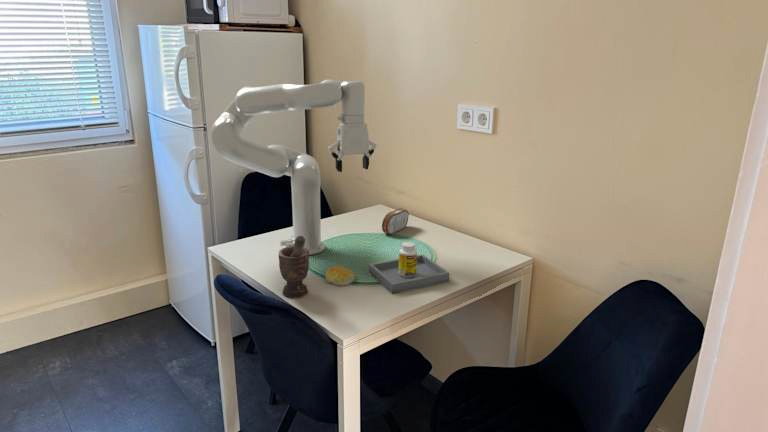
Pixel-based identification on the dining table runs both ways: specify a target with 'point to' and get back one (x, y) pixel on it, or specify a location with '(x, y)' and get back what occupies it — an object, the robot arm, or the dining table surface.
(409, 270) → the supplement bottle
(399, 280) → the tray
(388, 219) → the tin
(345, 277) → the bread roll
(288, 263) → the mortar and pestle
